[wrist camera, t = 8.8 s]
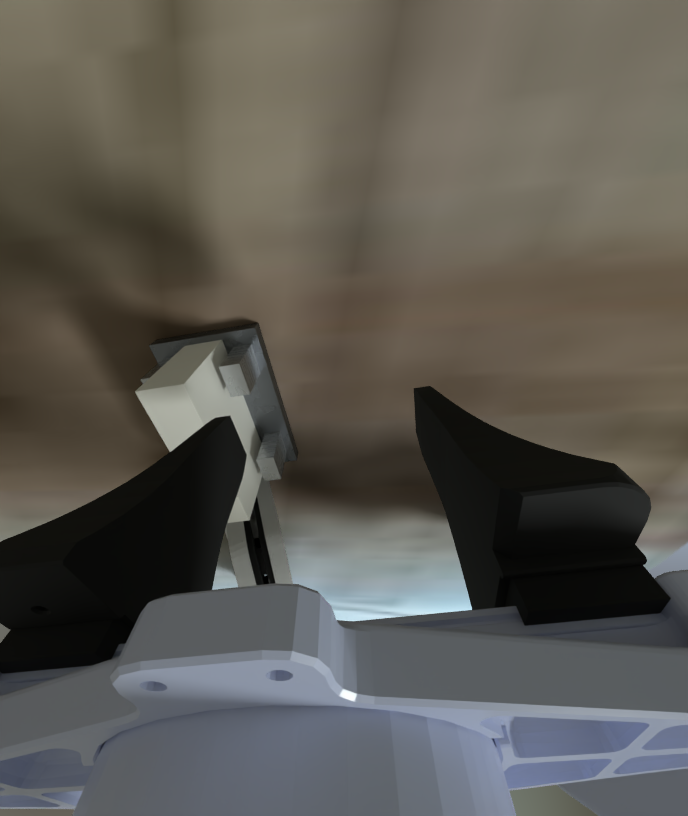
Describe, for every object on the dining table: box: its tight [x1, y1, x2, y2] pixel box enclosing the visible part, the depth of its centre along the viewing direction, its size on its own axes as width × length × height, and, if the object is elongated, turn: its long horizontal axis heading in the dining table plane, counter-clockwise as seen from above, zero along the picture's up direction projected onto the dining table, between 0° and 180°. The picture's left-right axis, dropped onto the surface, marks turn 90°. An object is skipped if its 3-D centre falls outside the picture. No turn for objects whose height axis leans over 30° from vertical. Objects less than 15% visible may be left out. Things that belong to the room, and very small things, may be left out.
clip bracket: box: [140, 323, 298, 481], centre depth 22 cm, size 7×11×4 cm, turn 9°
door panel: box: [135, 340, 262, 523], centre depth 21 cm, size 3×10×6 cm, turn 9°
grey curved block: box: [225, 475, 293, 587], centre depth 29 cm, size 17×5×10 cm, turn 2°
